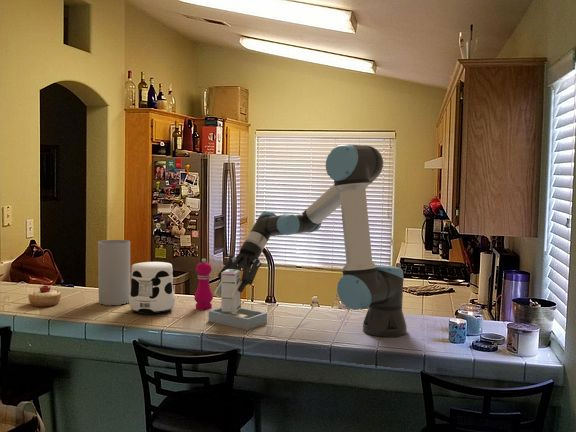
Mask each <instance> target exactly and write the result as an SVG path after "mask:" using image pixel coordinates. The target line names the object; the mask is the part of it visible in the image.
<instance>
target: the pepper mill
mask: <svg viewBox="0 0 576 432" xmlns="http://www.w3.org/2000/svg"><path fill="white" fill-rule="evenodd" d="M195 270H196V273H197V279H198V286H197V289H196V290H195V293H194V301H195V302H196V303H195V309H196V311H197V310H198V311H209V310H212V301H213V299H214V296H213V294H214V293H213V292H212V289H211V287H210V279H211V274H210V273H211V272H212V266H211V264H210V263H209V262H207V259H206V258H202V259H201V262H199V263H198V264H197V265H196V269H195Z"/></svg>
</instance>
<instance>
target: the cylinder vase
mask: <svg viewBox="0 0 576 432" xmlns="http://www.w3.org/2000/svg"><path fill="white" fill-rule="evenodd" d="M97 263H98V264H97V266H98V268H97V269H98V270H97V273H98V274H97V275H98V276H97V277H98V285H97V286H98V303H99V304H100V305H102V304H103V305H102V306H107V305H117V306H122V305H121V304H124V305H127V304H129V296H130V292H131V241H130V240H128V239H127V240H126V239H106V240H99V241H97ZM126 303H127V304H126Z"/></svg>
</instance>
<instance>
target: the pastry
mask: <svg viewBox="0 0 576 432" xmlns="http://www.w3.org/2000/svg"><path fill="white" fill-rule="evenodd" d="M27 297H28V301H29V304H30V305H31V306H32V307H34V308H35V307H36V308H47V307H46V306H49V307H53V306H52V305H54V306H57V305H58V304H59V303H60V300H61V297H62V293H61V292H60V290H58V289H54V290H53V289H51V286H50V285H48V284H44V283H41V286H39V287H38V290H33V291H31V292H29V293H28V296H27ZM56 304H57V305H56Z"/></svg>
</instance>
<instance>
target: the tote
mask: <svg viewBox="0 0 576 432" xmlns="http://www.w3.org/2000/svg"><path fill="white" fill-rule="evenodd" d="M229 313H232V312H224V311H222V307H217V308H213V309H209V310H208V322H211V323H214V324H218V325H222V326H223V325H224V326H227V327H228V326H229V327H232V328H238V329H242V330H246V331H249V330H252V329H255V328H257V327H260V326H263V325H265V324H268V312H265V311H261V310H260V311H259V310H255V309H249V308H244V307H241V309H239V310H238V311H237V312H233V313H238V314H243V315H248V318H243V317H239V316H234V315H229Z"/></svg>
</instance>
